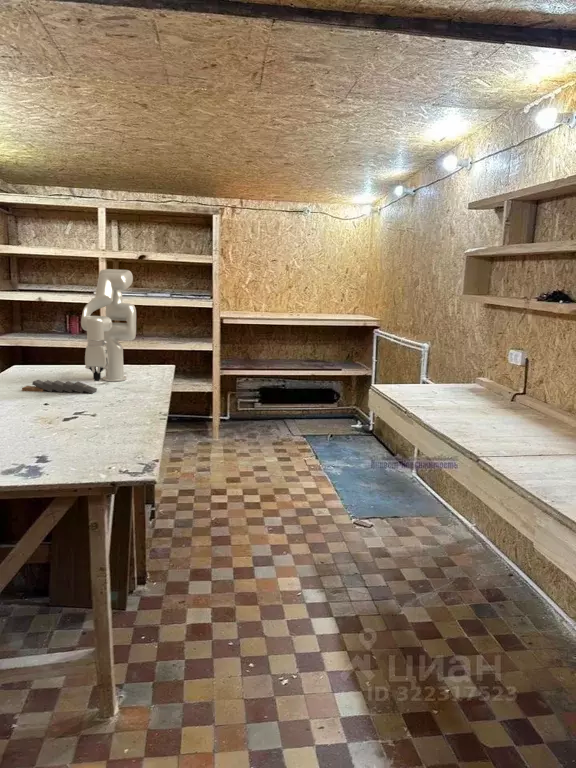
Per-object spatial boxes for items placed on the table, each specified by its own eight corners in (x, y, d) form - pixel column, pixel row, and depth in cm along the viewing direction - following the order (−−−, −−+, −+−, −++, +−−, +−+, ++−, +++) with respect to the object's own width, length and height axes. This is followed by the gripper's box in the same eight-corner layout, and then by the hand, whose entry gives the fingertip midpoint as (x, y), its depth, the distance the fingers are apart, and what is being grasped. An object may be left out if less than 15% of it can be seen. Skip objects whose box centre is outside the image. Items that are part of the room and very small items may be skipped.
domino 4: (71, 392, 249) (51, 385, 248) (75, 390, 254) (56, 383, 253) (72, 389, 248) (52, 382, 248) (76, 387, 253) (57, 380, 253)
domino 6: (92, 393, 249) (72, 386, 248) (96, 391, 254) (77, 384, 253) (93, 390, 248) (73, 383, 248) (97, 388, 253) (77, 381, 253)
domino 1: (42, 392, 249) (22, 391, 249) (47, 389, 254) (27, 389, 254) (42, 388, 248) (22, 387, 248) (47, 386, 253) (27, 385, 253)
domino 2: (51, 392, 249) (32, 384, 249) (56, 389, 254) (37, 382, 254) (52, 388, 249) (32, 381, 248) (57, 386, 254) (38, 379, 253)
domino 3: (61, 392, 249) (42, 385, 248) (66, 390, 254) (47, 383, 253) (62, 389, 249) (43, 382, 248) (67, 387, 253) (48, 380, 253)
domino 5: (82, 393, 249) (62, 386, 248) (86, 391, 254) (67, 384, 253) (83, 390, 249) (63, 383, 248) (87, 388, 254) (68, 381, 253)
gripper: (113, 343, 250) (115, 379, 254) (83, 341, 250) (84, 378, 254) (108, 345, 243) (110, 382, 247) (77, 343, 243) (78, 381, 246)
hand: (97, 380), depth 250 cm, fingers closed
